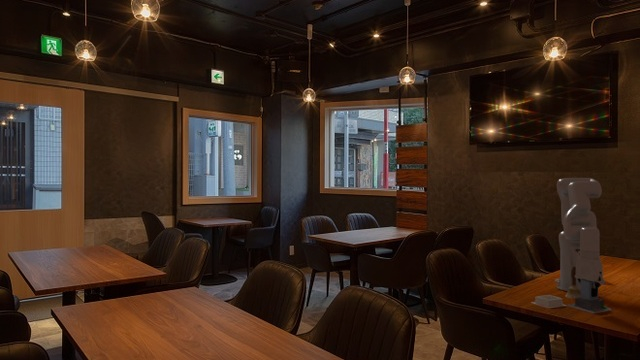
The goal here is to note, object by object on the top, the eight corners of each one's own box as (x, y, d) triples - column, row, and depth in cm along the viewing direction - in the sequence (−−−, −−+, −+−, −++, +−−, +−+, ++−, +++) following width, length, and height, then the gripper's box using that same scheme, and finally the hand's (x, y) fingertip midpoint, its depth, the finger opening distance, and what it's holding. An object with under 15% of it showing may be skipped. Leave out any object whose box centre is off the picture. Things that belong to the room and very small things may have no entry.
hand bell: (586, 299, 211) (586, 267, 211) (578, 302, 206) (578, 269, 206) (569, 295, 217) (569, 264, 218) (560, 298, 213) (560, 266, 213)
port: (567, 307, 197) (567, 296, 197) (585, 304, 201) (585, 294, 201) (593, 315, 186) (593, 303, 186) (611, 312, 190) (611, 300, 190)
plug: (580, 304, 194) (580, 276, 194) (589, 302, 196) (589, 275, 196) (589, 306, 190) (589, 278, 190) (598, 304, 193) (598, 277, 193)
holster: (530, 304, 202) (530, 296, 202) (548, 301, 207) (548, 293, 207) (549, 310, 193) (549, 301, 193) (567, 307, 197) (567, 299, 197)
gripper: (566, 252, 200) (566, 291, 200) (602, 258, 184) (602, 301, 184) (577, 251, 203) (577, 290, 203) (613, 257, 187) (613, 299, 187)
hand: (589, 294), depth 193 cm, fingers closed on plug, 3 cm apart
